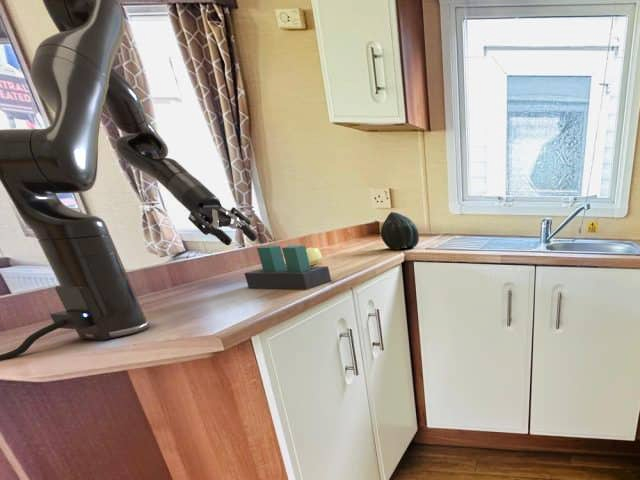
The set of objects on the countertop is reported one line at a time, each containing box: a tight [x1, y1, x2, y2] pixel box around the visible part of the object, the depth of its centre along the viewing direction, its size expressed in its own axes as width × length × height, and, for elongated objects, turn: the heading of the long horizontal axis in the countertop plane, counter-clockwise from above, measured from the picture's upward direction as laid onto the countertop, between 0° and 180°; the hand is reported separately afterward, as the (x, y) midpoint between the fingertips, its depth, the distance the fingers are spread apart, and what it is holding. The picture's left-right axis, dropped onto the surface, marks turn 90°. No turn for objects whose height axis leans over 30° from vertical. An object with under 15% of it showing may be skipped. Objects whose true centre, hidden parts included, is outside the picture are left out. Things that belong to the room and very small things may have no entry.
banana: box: [285, 247, 323, 266], centre depth 144 cm, size 14×6×20 cm
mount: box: [243, 265, 332, 290], centre depth 115 cm, size 10×18×4 cm, turn 76°
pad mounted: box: [281, 245, 310, 272], centre depth 113 cm, size 4×4×10 cm
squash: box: [380, 211, 420, 250], centre depth 174 cm, size 14×15×15 cm
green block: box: [256, 245, 286, 272], centre depth 115 cm, size 4×4×10 cm
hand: (243, 240), depth 114 cm, fingers open, 8 cm apart
